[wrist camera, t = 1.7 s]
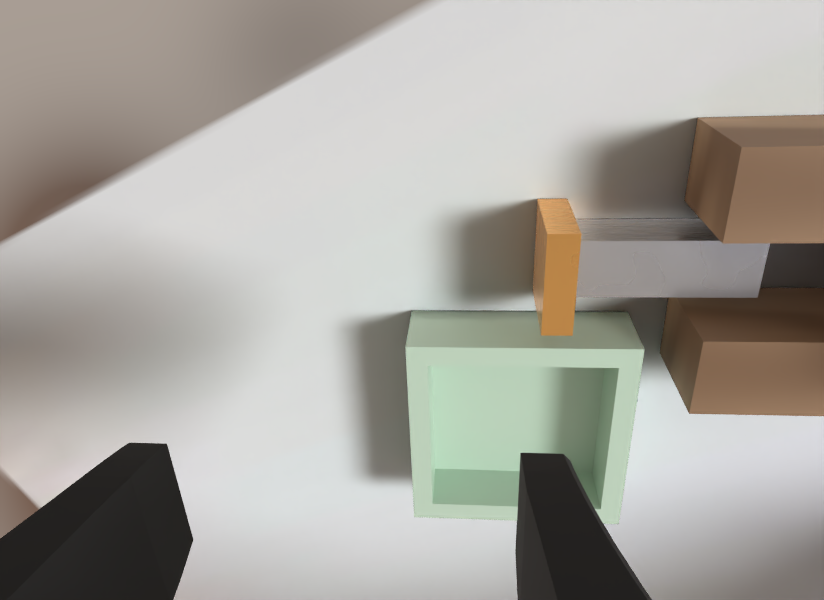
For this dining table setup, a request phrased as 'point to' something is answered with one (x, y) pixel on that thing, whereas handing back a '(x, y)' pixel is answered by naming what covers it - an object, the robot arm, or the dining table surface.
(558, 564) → the robot arm
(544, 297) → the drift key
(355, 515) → the dining table surface
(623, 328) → the tray
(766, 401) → the socket block
